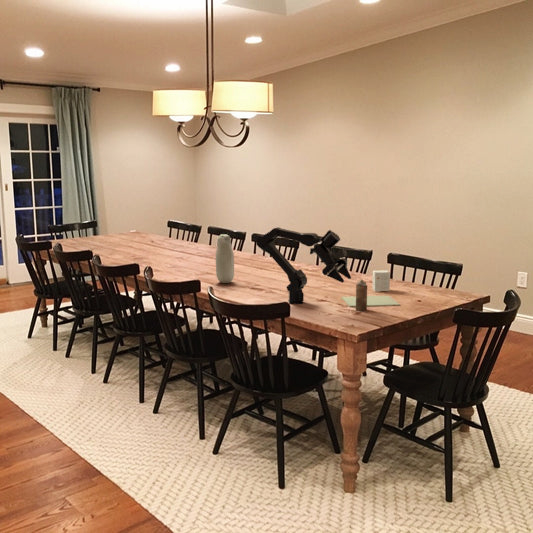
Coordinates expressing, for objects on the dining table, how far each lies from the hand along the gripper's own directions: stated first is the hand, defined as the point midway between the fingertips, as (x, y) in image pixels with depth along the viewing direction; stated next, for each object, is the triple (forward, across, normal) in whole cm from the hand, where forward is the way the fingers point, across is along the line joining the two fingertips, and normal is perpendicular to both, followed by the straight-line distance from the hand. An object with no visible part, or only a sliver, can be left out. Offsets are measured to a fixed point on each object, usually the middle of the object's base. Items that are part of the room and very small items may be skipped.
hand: (347, 280), depth 253 cm
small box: (+12, +43, +7) cm, 45 cm away
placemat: (+13, +17, +5) cm, 22 cm away
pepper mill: (+14, 0, +4) cm, 15 cm away
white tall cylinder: (-49, +24, +68) cm, 87 cm away
